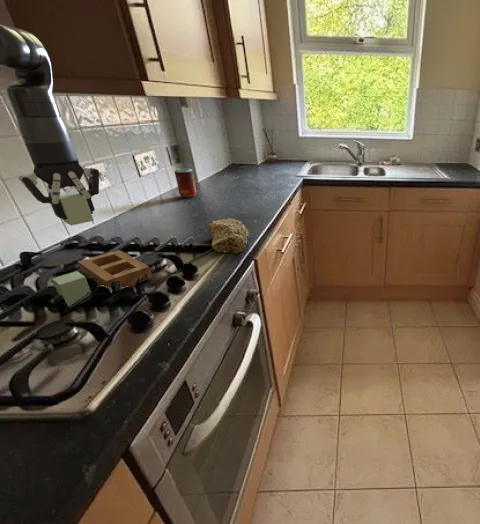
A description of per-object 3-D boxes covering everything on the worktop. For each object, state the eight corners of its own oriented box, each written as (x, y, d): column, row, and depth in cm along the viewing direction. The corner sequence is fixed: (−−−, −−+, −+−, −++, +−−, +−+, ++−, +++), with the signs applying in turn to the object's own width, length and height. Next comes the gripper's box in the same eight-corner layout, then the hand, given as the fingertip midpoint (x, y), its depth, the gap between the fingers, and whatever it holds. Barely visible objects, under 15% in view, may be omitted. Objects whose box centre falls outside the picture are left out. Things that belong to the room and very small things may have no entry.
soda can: (181, 194, 153) (175, 167, 148) (198, 194, 155) (193, 167, 150) (178, 198, 147) (172, 170, 142) (196, 198, 149) (190, 170, 144)
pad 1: (71, 225, 76) (61, 200, 73) (64, 221, 78) (54, 196, 75) (93, 220, 79) (85, 196, 76) (86, 217, 81) (77, 192, 78)
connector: (110, 294, 76) (106, 281, 75) (82, 273, 84) (77, 261, 83) (152, 278, 83) (149, 266, 81) (122, 261, 91) (119, 249, 89)
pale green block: (69, 309, 70) (59, 284, 68) (62, 302, 72) (51, 278, 70) (94, 300, 74) (85, 276, 71) (86, 294, 76) (77, 270, 73)
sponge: (251, 257, 99) (253, 222, 114) (242, 236, 94) (245, 202, 109) (206, 267, 97) (214, 230, 112) (194, 246, 92) (205, 211, 107)
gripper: (81, 135, 78) (105, 206, 85) (-5, 140, 67) (31, 220, 74) (95, 138, 74) (118, 212, 81) (6, 143, 63) (43, 228, 71)
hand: (76, 215), depth 78 cm, fingers closed on pad 1, 4 cm apart
